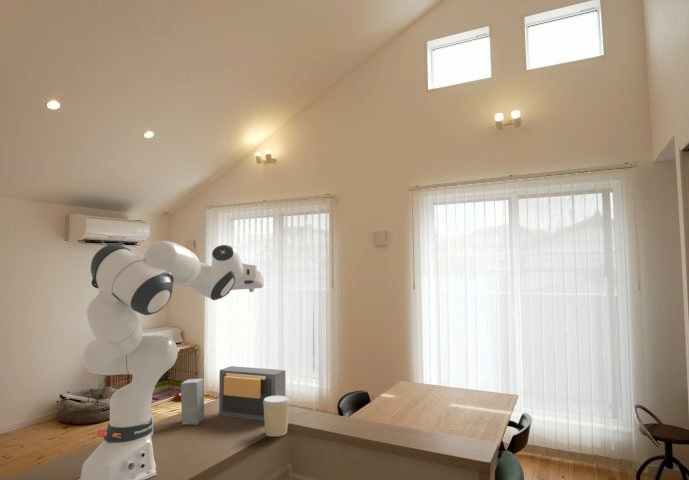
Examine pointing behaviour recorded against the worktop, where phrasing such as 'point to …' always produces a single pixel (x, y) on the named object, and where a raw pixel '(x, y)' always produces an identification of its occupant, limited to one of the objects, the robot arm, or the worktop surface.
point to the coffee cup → (276, 415)
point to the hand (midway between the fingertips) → (239, 291)
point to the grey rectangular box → (243, 405)
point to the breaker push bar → (242, 387)
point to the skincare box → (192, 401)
